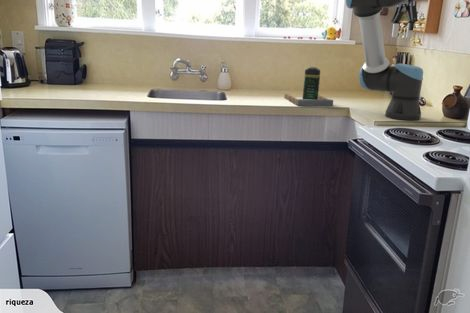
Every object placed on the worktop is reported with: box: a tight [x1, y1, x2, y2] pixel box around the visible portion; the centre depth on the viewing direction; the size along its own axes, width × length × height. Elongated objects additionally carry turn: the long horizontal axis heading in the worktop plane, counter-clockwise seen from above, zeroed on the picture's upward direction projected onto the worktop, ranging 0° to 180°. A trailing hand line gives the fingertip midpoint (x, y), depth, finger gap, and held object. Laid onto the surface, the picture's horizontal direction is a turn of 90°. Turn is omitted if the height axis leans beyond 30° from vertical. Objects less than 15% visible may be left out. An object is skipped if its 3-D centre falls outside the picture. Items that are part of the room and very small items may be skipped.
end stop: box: [295, 98, 334, 107], centre depth 216 cm, size 3×18×3 cm, turn 99°
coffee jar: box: [302, 66, 321, 99], centre depth 220 cm, size 10×8×19 cm
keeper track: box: [283, 92, 328, 106], centre depth 228 cm, size 24×18×2 cm
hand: (401, 37), depth 208 cm, fingers open, 13 cm apart
